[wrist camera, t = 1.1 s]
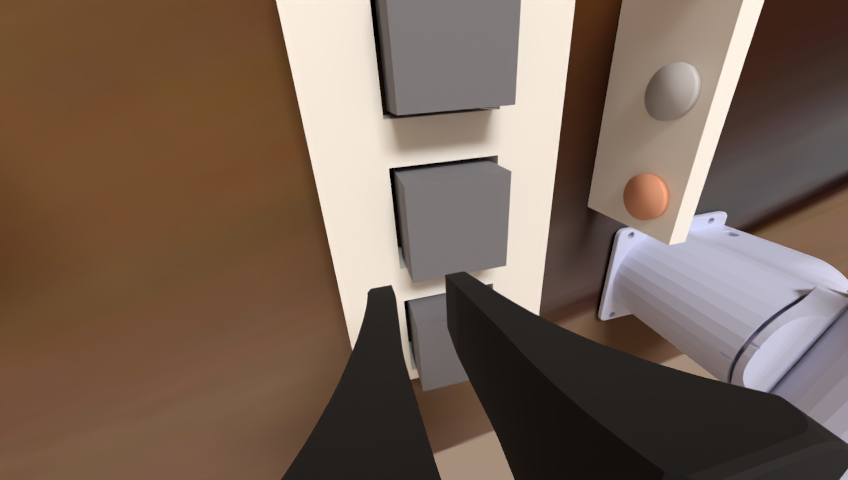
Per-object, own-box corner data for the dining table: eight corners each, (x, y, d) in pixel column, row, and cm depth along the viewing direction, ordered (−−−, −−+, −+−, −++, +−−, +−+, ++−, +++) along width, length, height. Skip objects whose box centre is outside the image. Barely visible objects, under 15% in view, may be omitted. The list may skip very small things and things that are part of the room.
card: (651, -71, 16) (813, -152, 10) (600, 204, 22) (685, 241, 16) (627, -71, 15) (780, -155, 10) (582, 207, 21) (662, 246, 16)
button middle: (484, 158, 17) (511, 171, 14) (483, 241, 19) (506, 265, 16) (393, 169, 16) (404, 185, 13) (402, 255, 18) (413, 283, 15)
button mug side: (488, -24, 13) (523, -50, 11) (485, 101, 15) (515, 104, 13) (372, -23, 12) (381, -51, 10) (386, 110, 15) (397, 115, 12)
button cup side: (482, 280, 20) (503, 308, 17) (481, 339, 22) (500, 372, 20) (406, 295, 19) (417, 327, 17) (413, 355, 21) (423, 391, 19)
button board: (547, -44, 15) (583, -67, 13) (517, 325, 25) (534, 349, 22) (273, -45, 13) (260, -73, 11) (358, 362, 22) (361, 391, 20)
